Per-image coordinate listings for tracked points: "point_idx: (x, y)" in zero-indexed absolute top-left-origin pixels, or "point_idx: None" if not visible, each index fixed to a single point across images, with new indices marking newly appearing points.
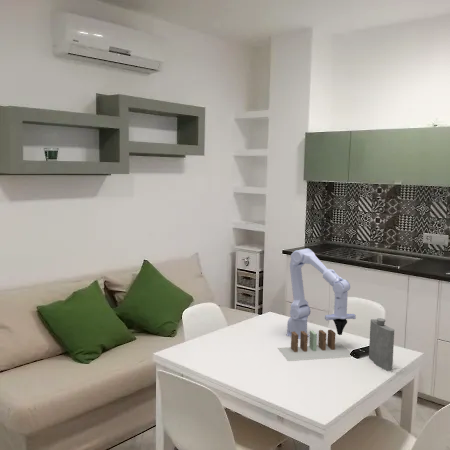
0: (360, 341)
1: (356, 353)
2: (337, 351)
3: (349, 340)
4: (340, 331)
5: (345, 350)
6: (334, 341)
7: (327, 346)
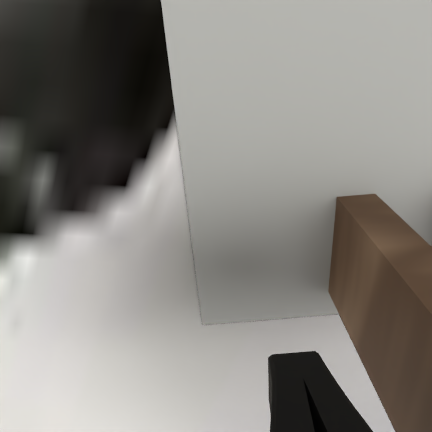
0: (3, 374)
1: (112, 78)
2: (333, 142)
3: (98, 393)
4: (322, 403)
5: (225, 165)
6: (388, 248)
7: None
